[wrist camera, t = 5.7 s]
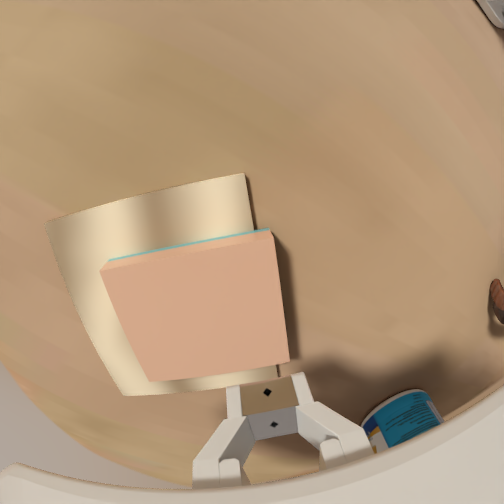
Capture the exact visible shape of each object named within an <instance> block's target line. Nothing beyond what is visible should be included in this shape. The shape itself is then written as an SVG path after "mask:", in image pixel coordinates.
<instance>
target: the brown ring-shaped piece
mask: <svg viewBox="0 0 504 504" xmlns="http://www.w3.org/2000/svg"><path fill="white" fill-rule="evenodd" d="M490 292H491V297H492V298H493V300H494V303H493V308H494V311H495V314H496V316H497V318H498V320H499V321H500V322H501V323H502V324H504V289H503V287H502V285H501V283H500V280H499V279H494V281H493V282H492V284H491V286H490Z"/></svg>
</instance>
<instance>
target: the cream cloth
mask: <svg viewBox="0 0 504 504" xmlns="http://www.w3.org/2000/svg"><path fill="white" fill-rule="evenodd" d="M44 225H45V229H46V232H47V235H48V238H49V241H50V244H51V247H52V250H53V253H54V256H55V259H56V261H57V264H58V267H59V270H60V272H61V275H62V277H63V280H64V282H65V285H66V287H67V290H68V292H69V294H70V297H71V299H72V301H73V303H74V306H75V308H76V310H77V312H78V314H79V317H80V319H81V321H82V323H83V325H84V327H85V329H86V331H87V333H88V335H89V337H90V339H91V341H92V343H93V345H94V347H95V348H96V350H97V352H98V354H99V356H100V358H101V359H102V361H103V363H104V365H105V366H106V368H107V370H108V371H109V373H110V375H111V377H112V378H113V380H114V381H115V383H116V385H117V386H118V388H119V390H120V391H121V393H122V394H123V396H136V395H156V394H170V393H182V392H192V391H201V390H209V389H217V388H224V387H227V386H232V385H240V384H245V383H252V382H258V381H264V380H268V379H273V378H277V377H278V374H277V368H276V365H272V366H267V367H261V368H256V369H250V370H244V371H238V372H232V373H226V374H219V375H212V376H204V377H196V378H187V379H178V380H168V381H156V382H149V381H148V379H147V377H146V375H145V373H144V371H143V369H142V367H141V365H140V363H139V362H138V360H137V358H136V356H135V354H134V352H133V350H132V347H131V345H130V343H129V341H128V339H127V337H126V335H125V333H124V330H123V328H122V326H121V324H120V322H119V319H118V317H117V315H116V312H115V310H114V308H113V305H112V303H111V300H110V298H109V295H108V293H107V290H106V288H105V285H104V283H103V280H102V277H101V275H100V272H99V271H100V269H101V268H102V267H103V266H104V265H105V264H106V262H107V261H108V260H109V259H112V258H117V257H122V256H126V255H131V254H136V253H141V252H146V251H151V250H155V249H160V248H165V247H170V246H175V245H180V244H185V243H191V242H196V241H201V240H206V239H211V238H216V237H222V236H227V235H232V234H238V233H243V232H248V231H254V227H253V221H252V216H251V210H250V204H249V198H248V192H247V186H246V180H245V174H244V173H240V174H235V175H229V176H224V177H218V178H213V179H208V180H203V181H198V182H194V183H189V184H184V185H180V186H175V187H171V188H166V189H162V190H158V191H153V192H149V193H145V194H141V195H137V196H133V197H129V198H126V199H122V200H118V201H114V202H111V203H107V204H103V205H100V206H96V207H93V208H89V209H86V210H83V211H79V212H76V213H73V214H70V215H66V216H63V217H60V218H57V219H54V220H51V221H48V222H46V223H44Z"/></svg>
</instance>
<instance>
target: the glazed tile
mask: <svg viewBox="0 0 504 504" xmlns="http://www.w3.org/2000/svg"><path fill="white" fill-rule="evenodd" d="M99 272H100V275H101V277H102V280H103V283H104V285H105V288H106V290H107V293H108V295H109V298H110V300H111V303H112V305H113V308H114V310H115V312H116V315H117V317H118V319H119V322H120V324H121V326H122V328H123V330H124V333H125V335H126V337H127V339H128V341H129V343H130V345H131V347H132V350H133V352H134V354H135V356H136V358H137V360H138V362H139V363H140V365H141V367H142V369H143V371H144V373H145V375H146V377H147V379H148V381H149V382H156V381H168V380H178V379H187V378H196V377H204V376H212V375H219V374H226V373H232V372H238V371H244V370H250V369H256V368H261V367H267V366H272V365H277V364H282V363H286V362H290V358H289V350H288V342H287V334H286V325H285V318H284V310H283V302H282V294H281V287H280V280H279V272H278V265H277V258H276V251H275V244H274V237H273V235H272V233H271V232H270V230H269V228H265V229H259V230H254V231H248V232H243V233H238V234H232V235H227V236H222V237H216V238H211V239H206V240H201V241H196V242H191V243H185V244H180V245H175V246H170V247H165V248H160V249H155V250H151V251H146V252H141V253H136V254H131V255H126V256H122V257H117V258H112V259H109V260H108V261H107V262H106V264H105V265H104V266H103V267H102V268H101V269H100V271H99Z"/></svg>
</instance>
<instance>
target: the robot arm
mask: <svg viewBox="0 0 504 504" xmlns="http://www.w3.org/2000/svg"><path fill="white" fill-rule="evenodd" d="M477 2H478V3H479V4H480V6H481V7H482V9H483V10H484V12H485V13H486V15H487V16H488V18H489V19H490V20H491V22H492V23H493V24H494V25H495V26H497V27H498V28H502V29H504V0H477ZM226 397H227V416H228V419H224V420H223V421H222V423H221V424H220V425H219V427H218V428H217V429H216V431H215V432H214V434H213V435H212V436H211V438H210V439H209V440H208V442H207V443H206V444H205V446H204V447H203V448H202V450H201V451H200V452H199V454H198V455H197V456H196V458H195V459H194V460H193V484H192V489H154V488H139V487H127V486H118V485H111V484H103V483H97V482H92V481H85V480H81V479H76V478H71V477H66V476H63V475H58V474H54V473H51V472H47V471H44V470H40V469H37V468H34V467H31V466H27V465H25V464H21V463H13V464H11V465H9V466H8V467H6V468H5V469H4V470H2V471H1V472H0V504H504V384H503V385H502V386H501V387H499V388H498V389H496V390H495V391H494V392H492V393H491V394H489V395H488V396H486V397H485V398H484V399H482V400H481V401H479V402H478V403H476V404H474V405H473V406H471V407H470V408H468V409H466V410H465V411H463V412H461V413H460V414H458V415H457V416H455V417H453V418H451V419H449V420H447V421H446V422H444V423H442V424H440V425H438V426H436V427H434V428H432V429H431V430H429V431H427V432H425V433H422V434H420V435H418V436H416V437H414V438H412V439H410V440H408V441H405V442H403V443H401V444H398V445H396V446H394V447H391V448H389V449H386V450H384V451H381V452H379V453H376V454H374V452H373V449H372V447H371V445H370V443H369V440H368V438H367V436H366V434H365V431H364V429H363V428H362V427H360V426H358V425H356V424H355V423H353V422H351V421H350V420H348V419H346V418H345V417H343V416H341V415H340V414H338V413H336V412H335V411H333V410H332V409H330V408H328V407H327V406H325V405H324V404H322V403H320V402H319V401H316V402H314V399H313V397H312V394H311V391H310V388H309V385H308V382H307V379H306V377H305V374H304V372H300V373H295V374H291V375H286V376H282V377H277V378H273V379H268V380H264V381H258V382H252V383H245V384H240V385H232V386H227V388H226ZM293 433H299V434H300V435H301V436H302V437H303V438H305V439H306V440H307V441H308V442H309V443H311V444H312V445H313V446H314V447H315V448H317V449H318V450H319V451H320V460H319V472H315V473H311V474H307V475H302V476H298V477H293V478H288V479H283V480H278V481H272V482H266V483H259V484H252V485H251V483H250V481H249V479H248V477H247V475H246V473H245V471H244V469H243V468H242V467H243V465H244V463H245V461H246V459H247V457H248V455H249V454H250V452H251V450H252V448H253V446H254V444H255V441H256V440H261V439H267V438H271V437H276V435H277V436H282V435H287V434H293Z"/></svg>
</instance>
